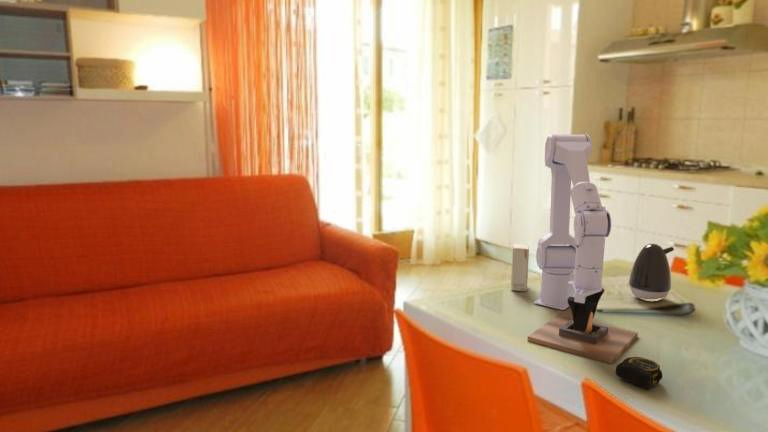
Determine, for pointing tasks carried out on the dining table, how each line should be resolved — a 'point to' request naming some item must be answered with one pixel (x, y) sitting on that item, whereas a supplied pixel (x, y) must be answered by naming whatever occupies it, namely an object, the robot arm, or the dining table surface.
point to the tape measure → (639, 371)
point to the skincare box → (519, 267)
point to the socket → (584, 339)
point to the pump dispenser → (651, 273)
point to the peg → (589, 325)
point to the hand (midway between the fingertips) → (584, 324)
